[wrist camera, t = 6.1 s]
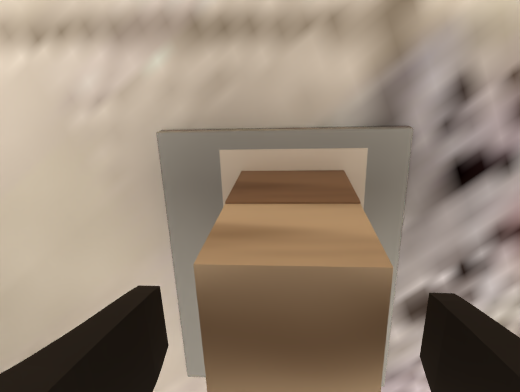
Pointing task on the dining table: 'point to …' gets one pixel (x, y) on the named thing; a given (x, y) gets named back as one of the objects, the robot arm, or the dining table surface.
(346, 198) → the walnut block
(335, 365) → the maple block
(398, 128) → the board
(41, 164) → the dining table surface
